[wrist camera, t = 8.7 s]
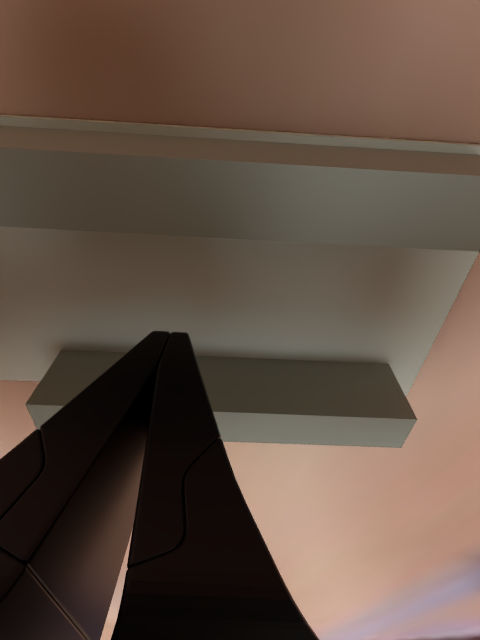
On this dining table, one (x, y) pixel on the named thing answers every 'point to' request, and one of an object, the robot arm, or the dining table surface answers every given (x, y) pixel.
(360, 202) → the chute
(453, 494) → the dining table surface
